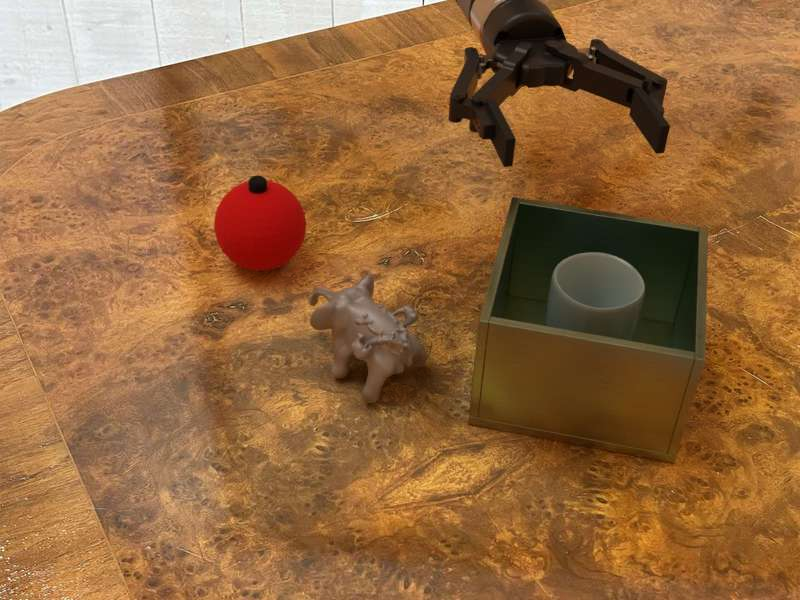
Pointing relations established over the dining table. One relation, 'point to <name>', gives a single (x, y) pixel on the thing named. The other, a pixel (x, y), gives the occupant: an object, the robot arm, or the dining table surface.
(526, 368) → the bin
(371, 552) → the dining table surface
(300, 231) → the ornament
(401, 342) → the clay animal figurine
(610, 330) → the cup
